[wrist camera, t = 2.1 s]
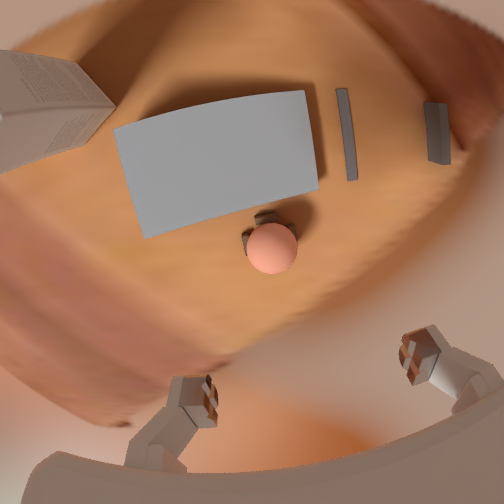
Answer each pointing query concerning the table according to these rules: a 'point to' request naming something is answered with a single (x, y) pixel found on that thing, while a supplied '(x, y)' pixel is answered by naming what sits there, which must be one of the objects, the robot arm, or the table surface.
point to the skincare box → (45, 108)
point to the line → (347, 134)
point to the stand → (261, 220)
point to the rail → (438, 132)
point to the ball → (271, 248)
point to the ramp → (217, 159)
